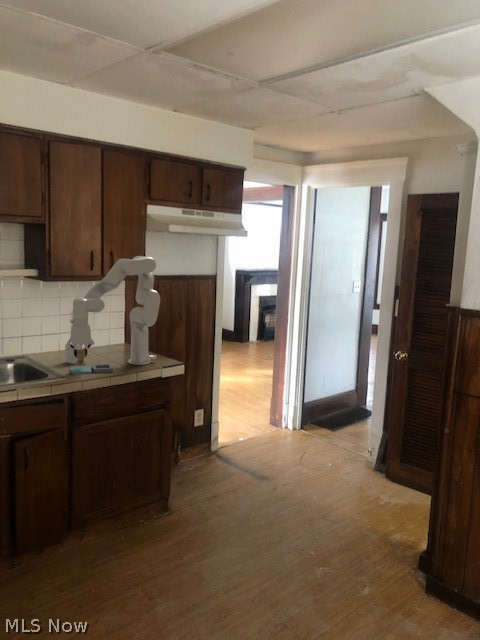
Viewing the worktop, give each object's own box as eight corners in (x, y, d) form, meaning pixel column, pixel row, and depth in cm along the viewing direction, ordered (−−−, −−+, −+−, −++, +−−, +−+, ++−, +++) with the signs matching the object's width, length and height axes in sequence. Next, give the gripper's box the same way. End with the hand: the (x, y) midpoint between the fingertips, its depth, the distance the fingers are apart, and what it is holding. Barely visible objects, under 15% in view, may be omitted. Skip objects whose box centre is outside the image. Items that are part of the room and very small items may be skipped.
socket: (110, 367, 288) (110, 363, 288) (113, 371, 279) (113, 368, 279) (91, 368, 285) (91, 364, 284) (93, 373, 275) (93, 369, 275)
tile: (89, 368, 284) (89, 366, 284) (91, 373, 275) (91, 371, 275) (70, 369, 281) (70, 367, 280) (71, 374, 271) (71, 372, 271)
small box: (83, 362, 296) (82, 344, 295) (75, 364, 292) (75, 345, 290) (72, 360, 300) (72, 342, 299) (65, 362, 296) (64, 343, 294)
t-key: (86, 366, 274) (86, 351, 273) (76, 366, 272) (76, 351, 271) (84, 362, 282) (84, 347, 281) (74, 362, 280) (74, 347, 279)
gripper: (63, 323, 267) (64, 359, 270) (98, 323, 273) (97, 357, 276) (63, 321, 274) (63, 355, 277) (96, 320, 280) (96, 354, 283)
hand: (80, 356), depth 276 cm, fingers closed on t-key, 4 cm apart
